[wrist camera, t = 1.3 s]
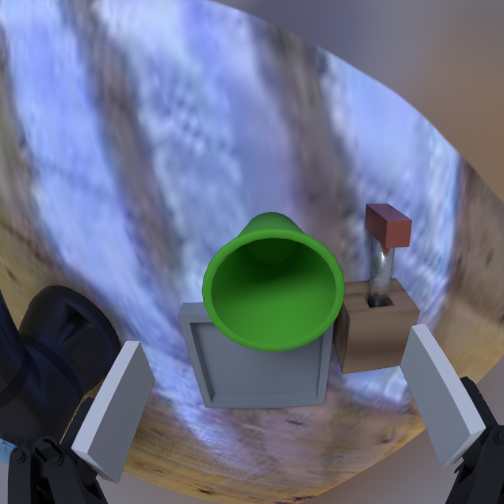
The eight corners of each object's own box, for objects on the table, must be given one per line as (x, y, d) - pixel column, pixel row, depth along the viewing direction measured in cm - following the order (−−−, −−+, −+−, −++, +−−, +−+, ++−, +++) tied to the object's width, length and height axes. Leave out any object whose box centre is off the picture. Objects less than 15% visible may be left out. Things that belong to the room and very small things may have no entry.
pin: (366, 203, 25) (387, 221, 20) (387, 203, 25) (411, 220, 20) (359, 299, 29) (373, 329, 24) (378, 297, 29) (395, 326, 24)
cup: (322, 272, 29) (346, 342, 19) (234, 284, 30) (220, 358, 20) (312, 184, 26) (342, 219, 16) (215, 199, 27) (184, 243, 17)
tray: (207, 395, 38) (205, 407, 36) (183, 302, 32) (178, 314, 29) (321, 391, 37) (323, 404, 35) (330, 295, 30) (335, 307, 28)
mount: (335, 283, 30) (350, 319, 24) (396, 278, 29) (419, 310, 23) (332, 335, 33) (342, 374, 27) (386, 328, 32) (404, 364, 26)
